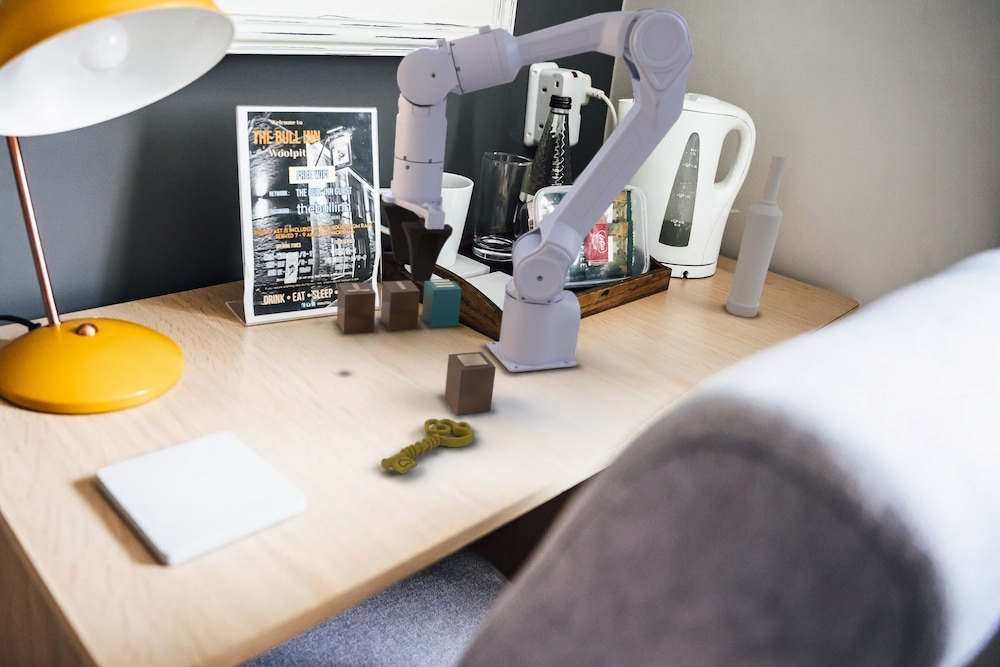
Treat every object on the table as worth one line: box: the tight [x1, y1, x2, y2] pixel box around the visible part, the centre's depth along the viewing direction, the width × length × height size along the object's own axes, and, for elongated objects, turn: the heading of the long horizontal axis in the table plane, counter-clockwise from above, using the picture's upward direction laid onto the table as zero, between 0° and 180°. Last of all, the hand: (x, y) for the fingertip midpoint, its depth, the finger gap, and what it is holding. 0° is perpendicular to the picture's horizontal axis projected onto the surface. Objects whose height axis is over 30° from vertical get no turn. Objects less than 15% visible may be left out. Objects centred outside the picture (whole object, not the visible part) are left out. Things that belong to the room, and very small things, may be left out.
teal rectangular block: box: [421, 278, 463, 329], centre depth 106 cm, size 4×4×6 cm
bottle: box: [725, 154, 788, 318], centre depth 119 cm, size 5×5×25 cm
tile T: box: [336, 281, 377, 335], centre depth 101 cm, size 4×4×6 cm
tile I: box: [380, 280, 421, 332], centre depth 103 cm, size 4×4×6 cm
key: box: [380, 418, 474, 474], centre depth 77 cm, size 12×1×5 cm
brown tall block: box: [444, 351, 496, 416], centre depth 85 cm, size 4×4×6 cm
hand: (411, 269), depth 94 cm, fingers open, 7 cm apart
